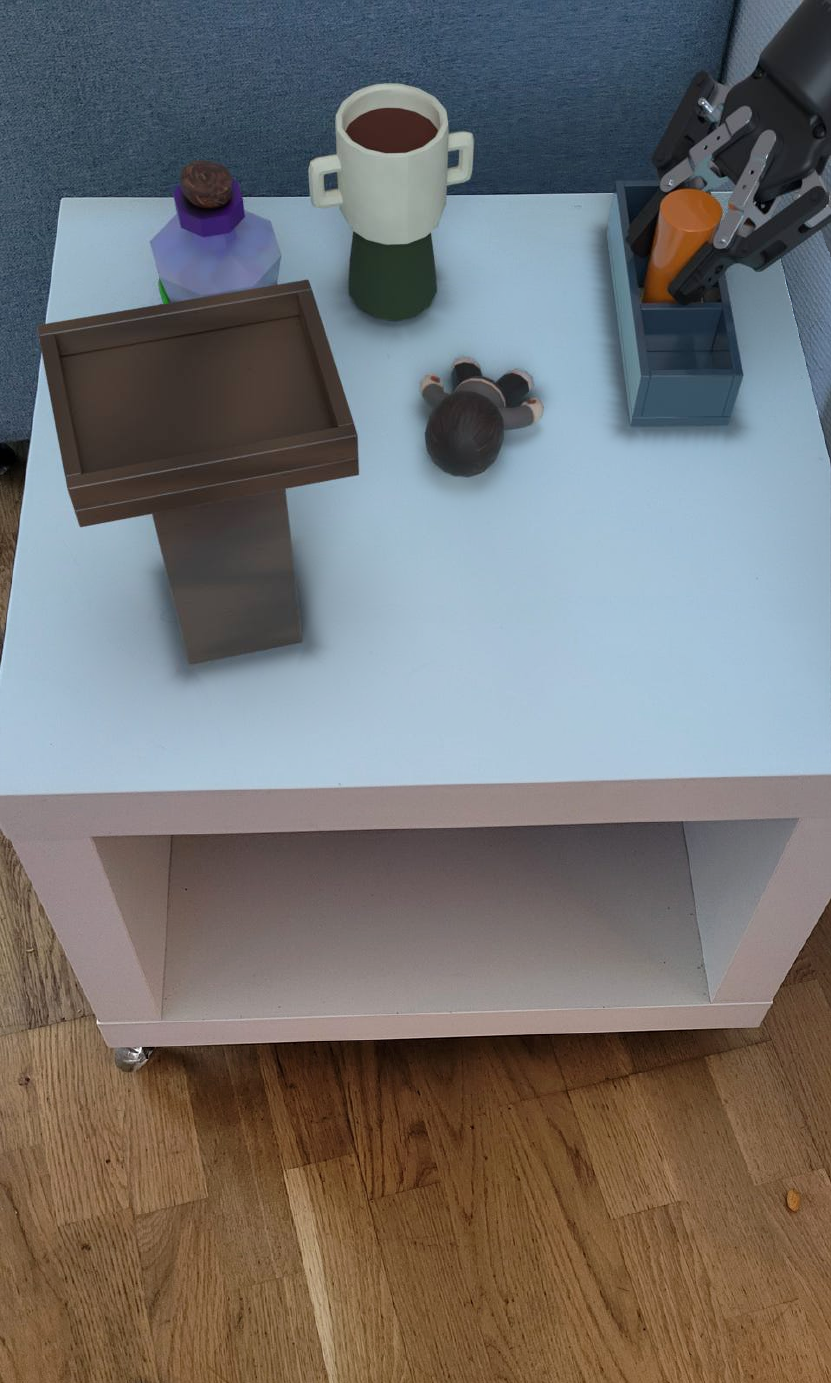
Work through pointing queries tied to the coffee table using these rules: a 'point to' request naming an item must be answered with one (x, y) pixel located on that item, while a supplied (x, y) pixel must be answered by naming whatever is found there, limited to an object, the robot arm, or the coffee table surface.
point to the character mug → (391, 192)
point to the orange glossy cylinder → (679, 239)
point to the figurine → (475, 416)
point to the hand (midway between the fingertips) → (655, 274)
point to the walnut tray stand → (205, 445)
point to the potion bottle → (213, 239)
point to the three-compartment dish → (669, 335)
